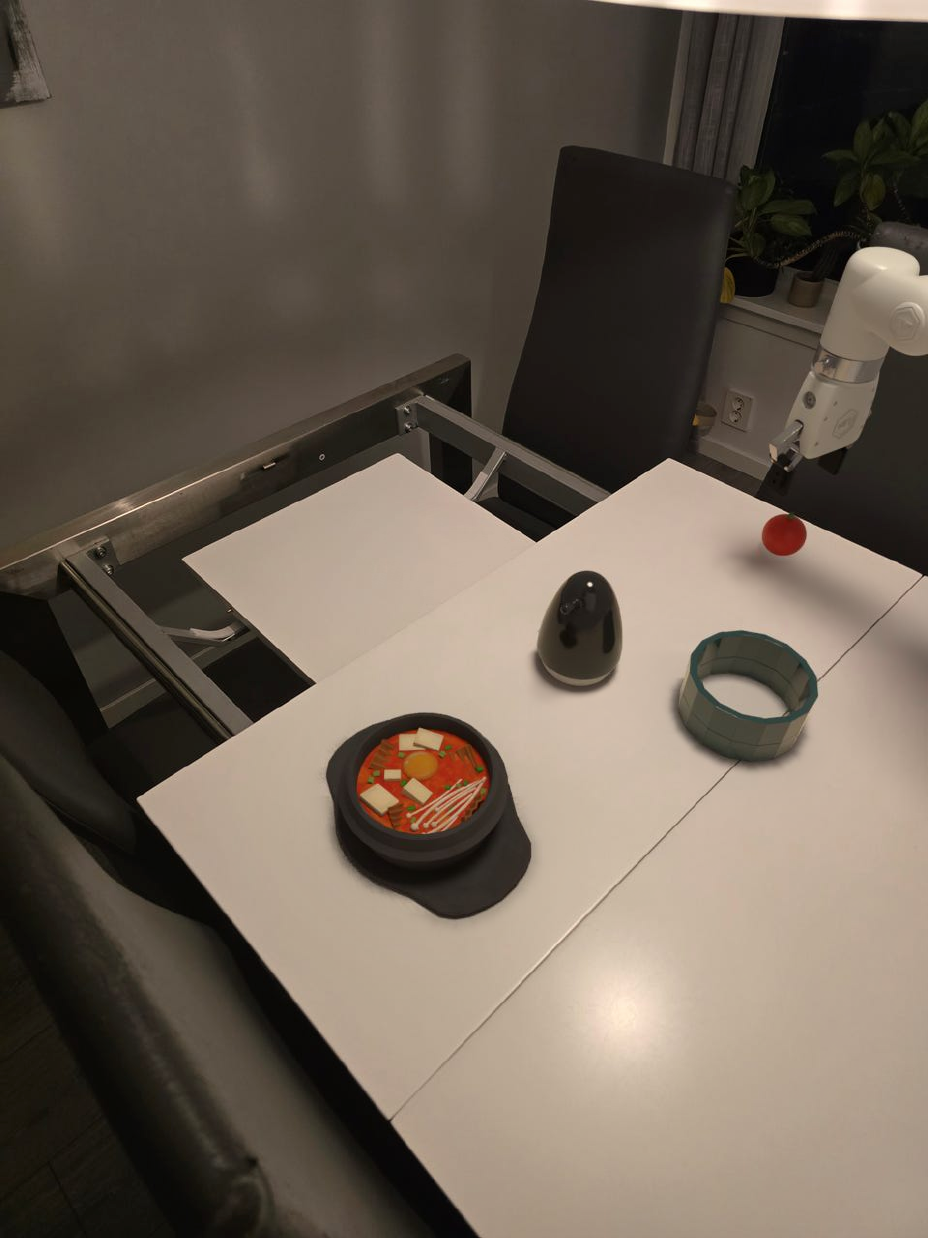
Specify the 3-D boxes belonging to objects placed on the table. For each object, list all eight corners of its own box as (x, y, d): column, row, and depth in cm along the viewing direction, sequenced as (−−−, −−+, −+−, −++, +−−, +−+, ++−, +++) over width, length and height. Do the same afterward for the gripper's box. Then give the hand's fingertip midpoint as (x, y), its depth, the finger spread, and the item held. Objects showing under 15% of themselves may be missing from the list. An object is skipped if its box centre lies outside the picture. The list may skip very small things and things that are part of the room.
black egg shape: (518, 674, 97) (525, 583, 86) (562, 627, 103) (574, 536, 92) (589, 714, 92) (605, 623, 82) (631, 662, 98) (652, 570, 88)
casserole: (572, 850, 80) (580, 805, 74) (426, 967, 71) (423, 926, 66) (425, 702, 94) (422, 654, 88) (288, 785, 85) (275, 738, 79)
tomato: (792, 538, 116) (806, 500, 111) (804, 564, 112) (820, 526, 107) (752, 538, 116) (764, 500, 111) (763, 564, 112) (776, 526, 107)
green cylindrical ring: (736, 661, 99) (753, 615, 93) (821, 736, 90) (844, 691, 85) (652, 702, 94) (664, 657, 88) (733, 787, 85) (753, 742, 80)
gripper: (821, 392, 88) (776, 514, 100) (921, 357, 94) (868, 475, 107) (771, 364, 93) (734, 484, 105) (870, 332, 99) (824, 449, 111)
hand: (802, 479), depth 106 cm, fingers open, 9 cm apart
